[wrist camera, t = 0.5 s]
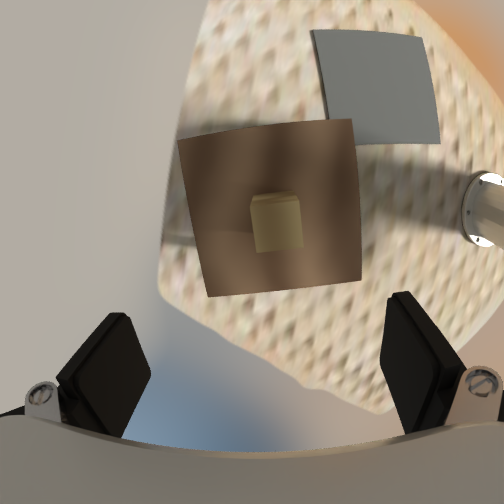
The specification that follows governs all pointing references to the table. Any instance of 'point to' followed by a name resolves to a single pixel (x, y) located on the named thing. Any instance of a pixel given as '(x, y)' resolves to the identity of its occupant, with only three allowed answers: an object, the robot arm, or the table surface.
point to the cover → (275, 206)
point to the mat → (379, 85)
